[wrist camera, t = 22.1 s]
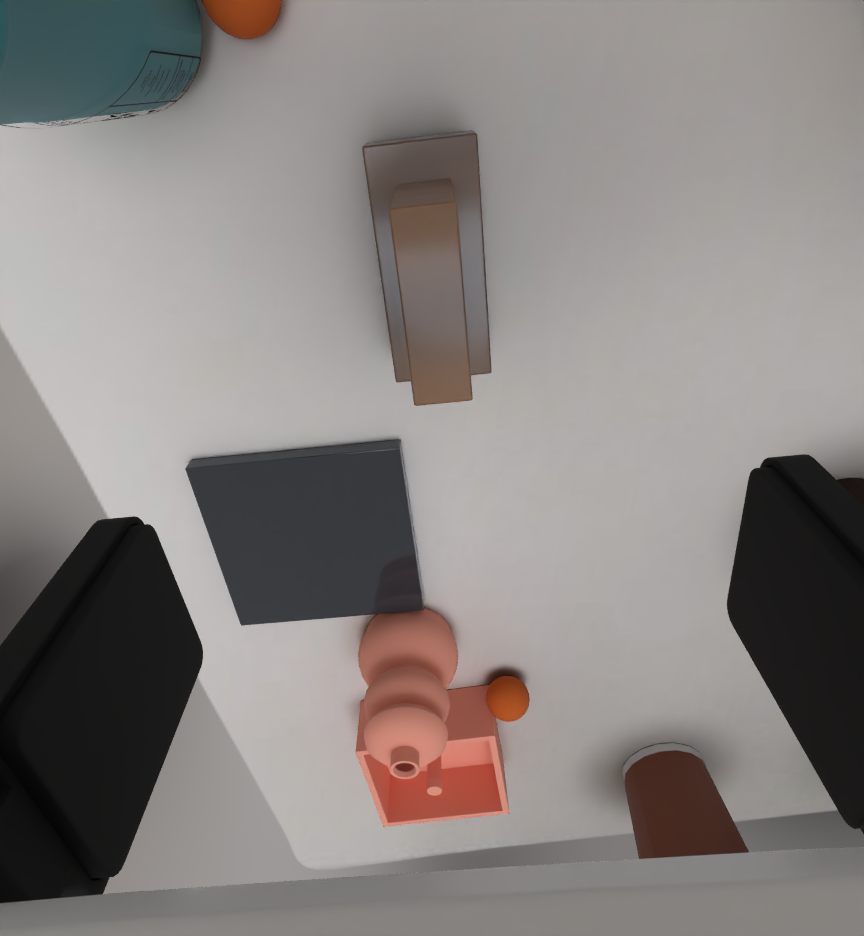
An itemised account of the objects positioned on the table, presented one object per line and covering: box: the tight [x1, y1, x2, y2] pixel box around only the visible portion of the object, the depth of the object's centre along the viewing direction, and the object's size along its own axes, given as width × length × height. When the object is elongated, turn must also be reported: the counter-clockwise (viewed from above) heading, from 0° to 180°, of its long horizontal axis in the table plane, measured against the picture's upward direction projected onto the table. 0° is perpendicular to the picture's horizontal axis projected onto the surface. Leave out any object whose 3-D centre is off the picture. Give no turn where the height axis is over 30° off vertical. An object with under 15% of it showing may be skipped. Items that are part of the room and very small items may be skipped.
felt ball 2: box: [486, 676, 529, 721], centre depth 44 cm, size 3×3×3 cm
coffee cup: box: [622, 743, 749, 859], centre depth 46 cm, size 9×9×12 cm
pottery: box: [356, 608, 509, 827], centre depth 42 cm, size 18×10×10 cm, turn 10°
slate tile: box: [186, 440, 424, 625], centre depth 38 cm, size 12×12×1 cm
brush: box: [362, 130, 491, 406], centre depth 26 cm, size 10×4×10 cm, turn 6°
